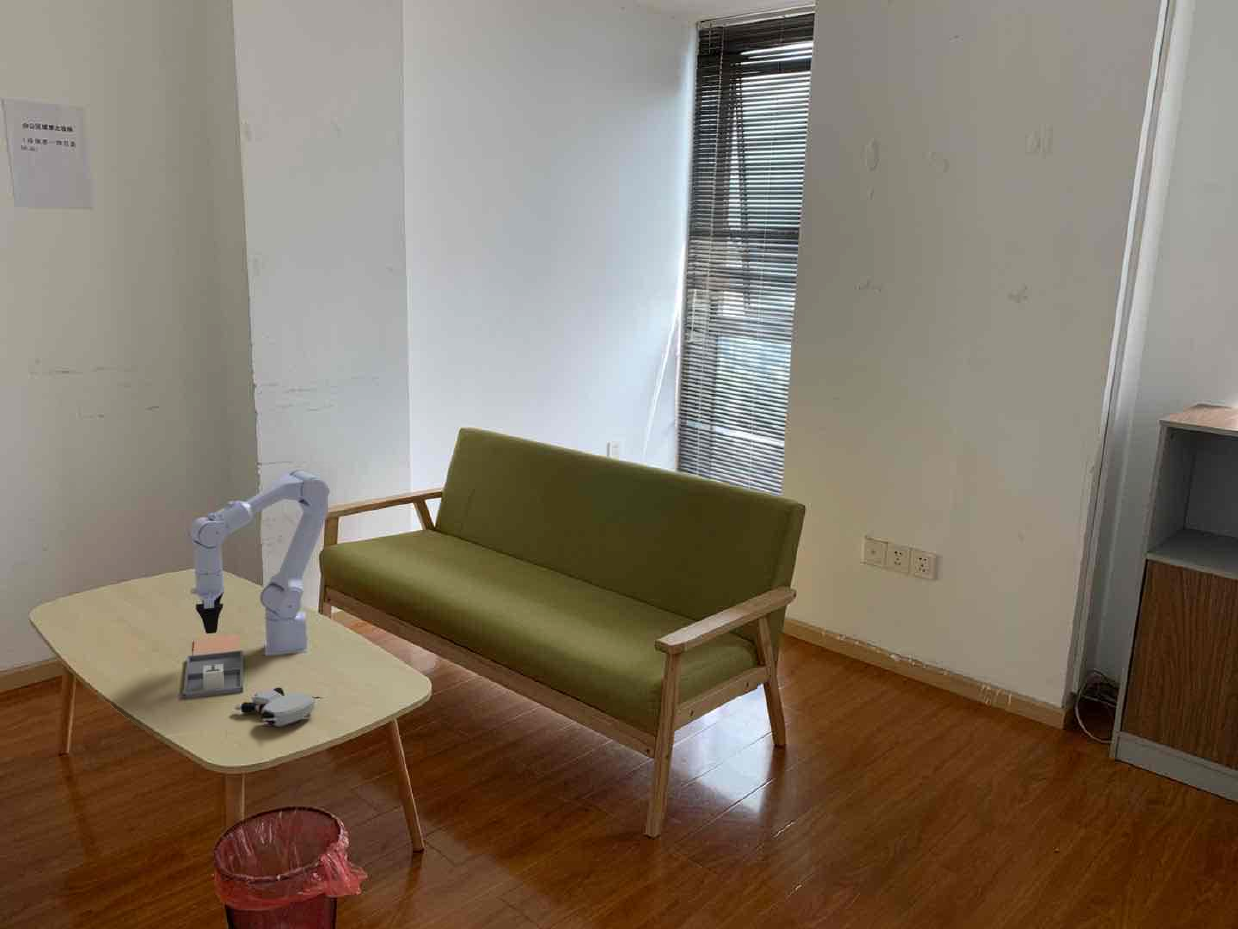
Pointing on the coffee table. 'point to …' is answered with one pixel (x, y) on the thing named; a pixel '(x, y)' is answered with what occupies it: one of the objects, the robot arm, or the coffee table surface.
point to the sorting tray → (228, 659)
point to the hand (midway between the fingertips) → (211, 626)
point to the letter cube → (213, 677)
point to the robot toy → (280, 706)
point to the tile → (216, 644)
